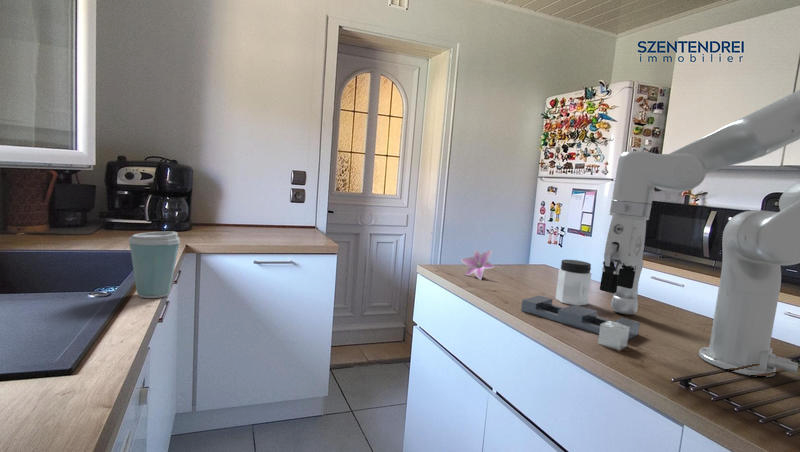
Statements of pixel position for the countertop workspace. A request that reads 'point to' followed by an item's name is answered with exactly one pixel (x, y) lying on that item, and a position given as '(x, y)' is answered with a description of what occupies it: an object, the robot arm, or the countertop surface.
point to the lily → (478, 263)
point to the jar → (573, 282)
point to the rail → (573, 315)
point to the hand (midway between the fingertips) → (616, 289)
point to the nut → (613, 335)
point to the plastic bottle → (627, 295)
